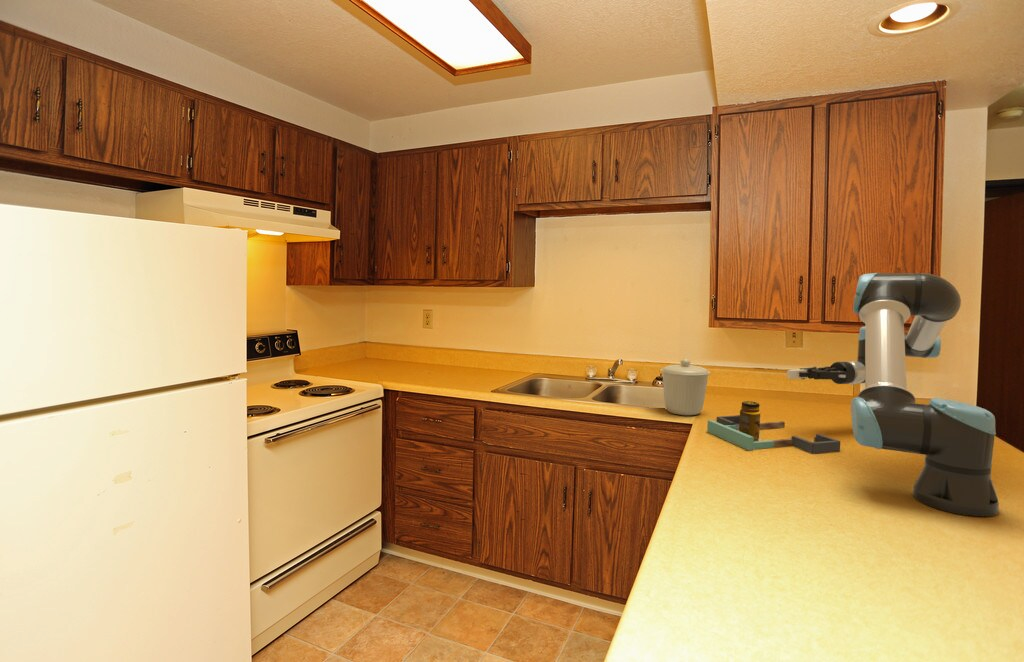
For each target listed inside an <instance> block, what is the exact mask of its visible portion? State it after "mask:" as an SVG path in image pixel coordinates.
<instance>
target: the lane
mask: <svg viewBox="0 0 1024 662" xmlns="http://www.w3.org/2000/svg"><path fill="white" fill-rule="evenodd" d="M785 423H786V422H785V421H781V420H780V421H771V422H770V421H769V422H760V430H761V431H763V430H773V429H774V430H775V429H785V427H786V426H785V425H786V424H785ZM760 430H759V431H760ZM816 438H817V437H816V436H814V437H813V442H815V441H816V440H815V439H816ZM771 440H772V441H774V447H775V448H784V447H785V448H786V447H793V446H792V445H793V440H792V439H791V438H781V439H771Z"/></svg>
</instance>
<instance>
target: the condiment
mask: <svg viewBox="0 0 1024 662" xmlns="http://www.w3.org/2000/svg"><path fill="white" fill-rule="evenodd" d="M760 406H761V405H760V403H758V402H757V401H751V400H747V401H745V400H744V401H742V402H741V407H740V408H741V409H740V411H739V415H740V421H739V430H738V431H740V432H742V433H745V434H747V435H750V436H752V437H754V442H755V441H759V440H763V439H761V438H760V423H761V411H760ZM763 441H765V440H763Z"/></svg>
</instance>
